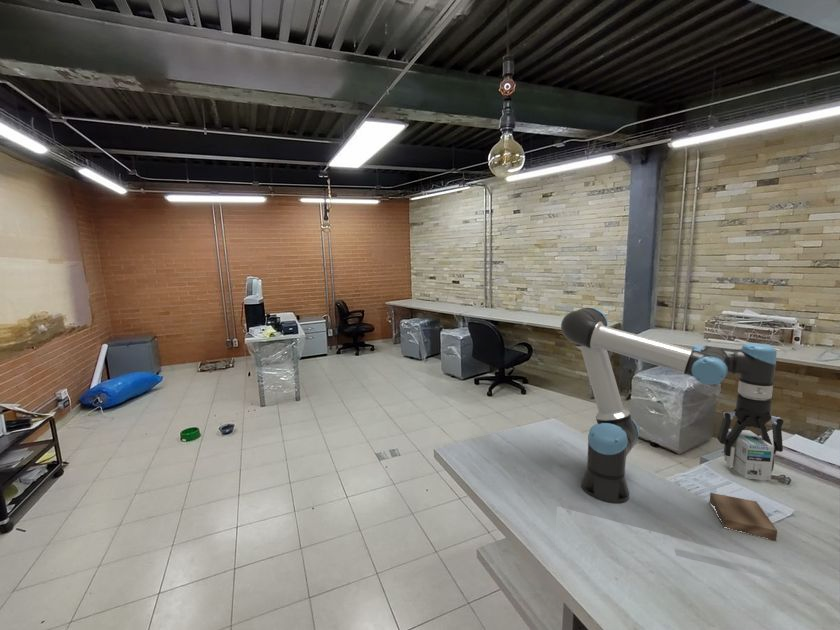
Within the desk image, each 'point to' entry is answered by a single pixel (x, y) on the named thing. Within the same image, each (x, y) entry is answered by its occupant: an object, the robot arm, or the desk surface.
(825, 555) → the desk surface
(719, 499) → the walnut block
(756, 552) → the desk surface
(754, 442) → the light bulb box
